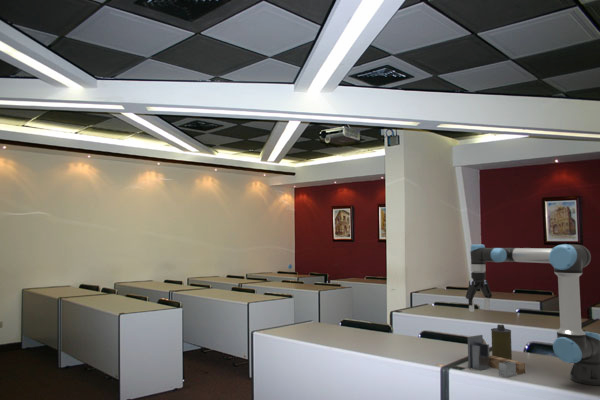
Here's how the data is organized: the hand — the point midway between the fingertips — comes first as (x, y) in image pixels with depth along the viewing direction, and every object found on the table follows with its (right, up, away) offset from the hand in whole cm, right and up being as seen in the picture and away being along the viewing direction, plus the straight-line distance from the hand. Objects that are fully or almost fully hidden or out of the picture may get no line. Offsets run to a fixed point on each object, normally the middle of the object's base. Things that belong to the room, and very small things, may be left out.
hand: (479, 310), depth 257 cm
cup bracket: (-6, -27, -14) cm, 31 cm away
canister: (+12, -28, -1) cm, 31 cm away
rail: (+7, -27, -17) cm, 32 cm away
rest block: (+3, -26, -27) cm, 38 cm away
